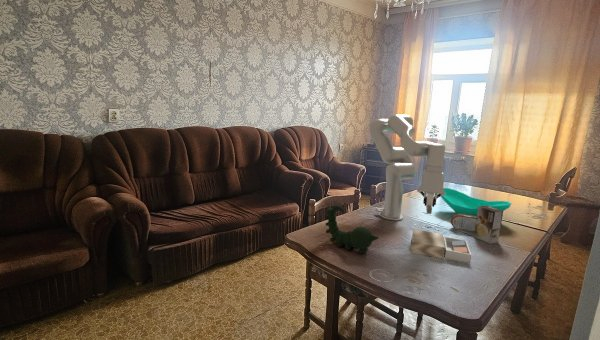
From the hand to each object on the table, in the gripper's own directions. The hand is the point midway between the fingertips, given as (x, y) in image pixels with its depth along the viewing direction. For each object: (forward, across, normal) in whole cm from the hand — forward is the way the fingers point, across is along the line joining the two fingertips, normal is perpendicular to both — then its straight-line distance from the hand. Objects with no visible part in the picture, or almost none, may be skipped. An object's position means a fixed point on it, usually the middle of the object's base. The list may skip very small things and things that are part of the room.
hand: (429, 205), depth 154 cm
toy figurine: (+15, -31, -34) cm, 49 cm away
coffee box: (+15, +28, +7) cm, 33 cm away
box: (+15, +12, -18) cm, 26 cm away
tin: (+15, +20, +16) cm, 30 cm away
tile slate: (+12, +13, -14) cm, 22 cm away
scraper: (+2, 0, 0) cm, 2 cm away
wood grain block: (+15, 0, -18) cm, 23 cm away
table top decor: (+15, +25, +42) cm, 51 cm away
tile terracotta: (+12, +13, -21) cm, 28 cm away
